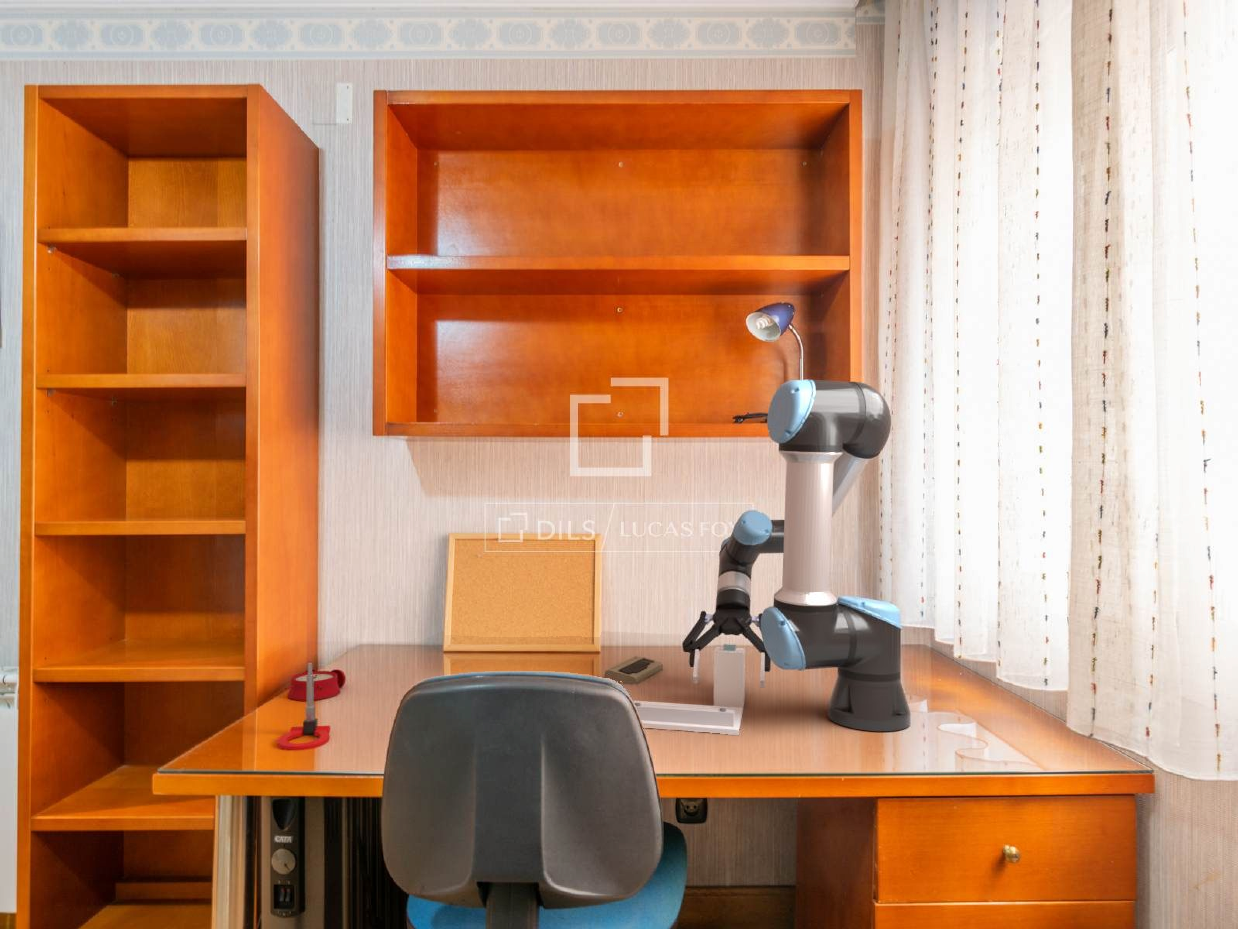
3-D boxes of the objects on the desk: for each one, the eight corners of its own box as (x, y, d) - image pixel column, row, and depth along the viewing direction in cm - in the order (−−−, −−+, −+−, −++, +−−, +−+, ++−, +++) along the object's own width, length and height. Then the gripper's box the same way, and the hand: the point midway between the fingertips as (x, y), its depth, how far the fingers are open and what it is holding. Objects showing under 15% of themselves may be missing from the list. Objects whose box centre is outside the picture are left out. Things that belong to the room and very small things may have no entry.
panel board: (742, 712, 155) (742, 693, 155) (738, 735, 141) (738, 714, 141) (633, 705, 159) (633, 686, 160) (619, 726, 146) (619, 706, 146)
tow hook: (322, 752, 133) (335, 732, 142) (322, 676, 133) (335, 661, 142) (270, 754, 132) (287, 734, 141) (270, 678, 132) (287, 662, 141)
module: (744, 701, 163) (744, 643, 163) (743, 708, 158) (743, 648, 159) (715, 699, 164) (715, 642, 165) (713, 706, 160) (713, 647, 160)
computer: (635, 687, 176) (635, 672, 176) (603, 682, 179) (603, 668, 179) (663, 672, 190) (663, 658, 190) (633, 668, 193) (633, 654, 193)
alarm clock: (277, 685, 160) (305, 653, 175) (279, 713, 161) (307, 679, 176) (328, 686, 160) (352, 653, 175) (330, 714, 162) (353, 679, 176)
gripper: (790, 609, 174) (791, 695, 160) (679, 605, 180) (669, 688, 165) (790, 589, 169) (791, 675, 154) (676, 585, 175) (665, 668, 160)
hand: (728, 682), depth 160 cm, fingers open, 13 cm apart
